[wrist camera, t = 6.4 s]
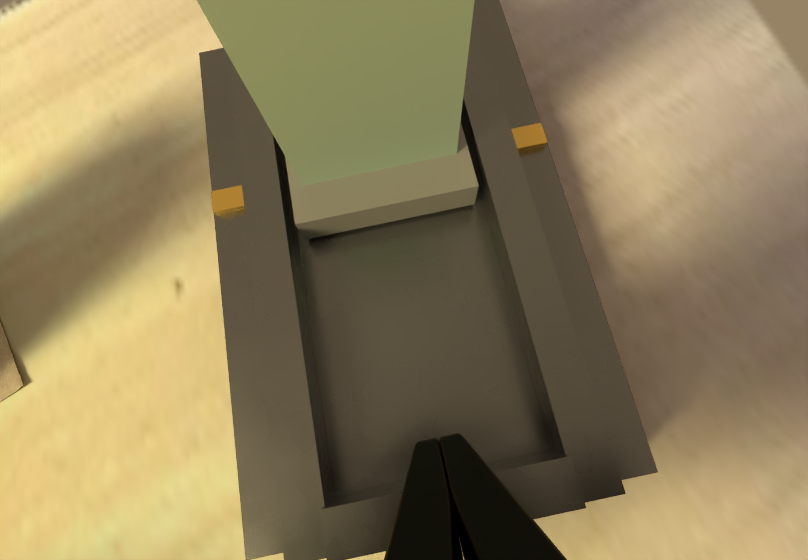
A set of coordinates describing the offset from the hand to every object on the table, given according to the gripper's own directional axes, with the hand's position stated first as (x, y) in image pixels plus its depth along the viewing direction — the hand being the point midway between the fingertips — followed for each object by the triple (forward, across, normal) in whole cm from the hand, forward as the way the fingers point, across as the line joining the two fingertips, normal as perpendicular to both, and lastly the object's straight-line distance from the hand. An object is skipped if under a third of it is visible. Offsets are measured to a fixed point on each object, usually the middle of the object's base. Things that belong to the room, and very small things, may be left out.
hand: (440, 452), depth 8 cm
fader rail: (+10, 0, 0) cm, 10 cm away
